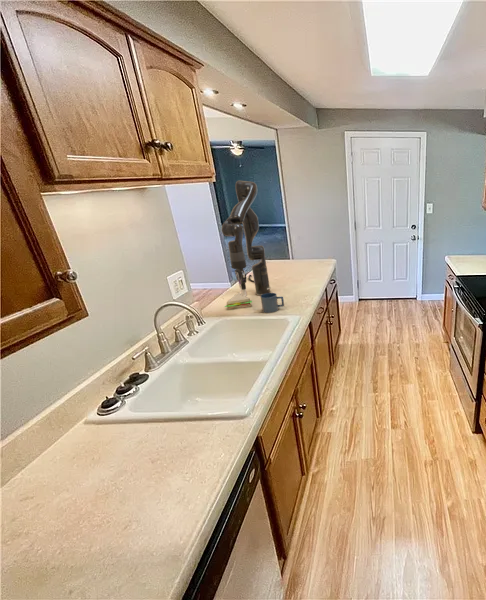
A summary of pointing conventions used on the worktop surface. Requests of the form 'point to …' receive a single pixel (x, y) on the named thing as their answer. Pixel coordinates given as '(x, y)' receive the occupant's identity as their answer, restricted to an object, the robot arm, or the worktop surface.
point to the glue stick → (243, 292)
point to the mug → (270, 302)
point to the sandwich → (238, 301)
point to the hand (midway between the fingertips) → (243, 288)
